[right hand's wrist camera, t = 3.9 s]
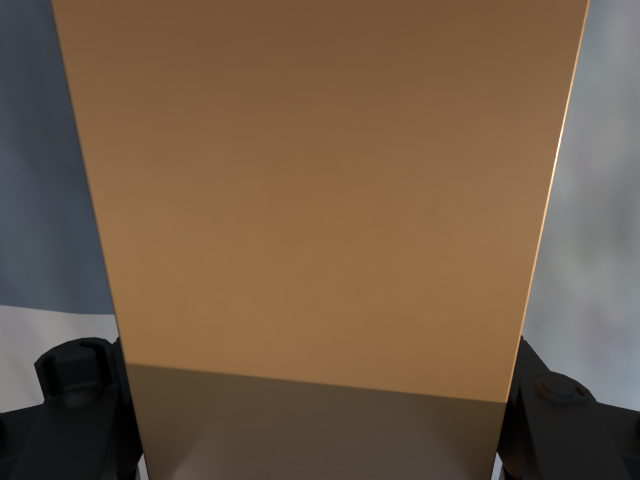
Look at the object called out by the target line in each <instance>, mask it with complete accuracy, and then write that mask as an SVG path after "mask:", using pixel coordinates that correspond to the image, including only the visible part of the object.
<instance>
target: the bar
mask: <svg viewBox="0 0 640 480" xmlns="http://www.w3.org/2000/svg"><path fill="white" fill-rule="evenodd" d="M589 4H590V0H50V5H51V10H52V15H53V20H54V25H55V29H56V34H57V39H58V44H59V49H60V54H61V58H62V63H63V68H64V73H65V78H66V83H67V87H68V92H69V97H70V102H71V107H72V111H73V116H74V121H75V126H76V131H77V136H78V140H79V145H80V150H81V155H82V160H83V165H84V169H85V174H86V179H87V184H88V189H89V193H90V198H91V203H92V208H93V213H94V218H95V222H96V227H97V232H98V237H99V242H100V247H101V251H102V256H103V261H104V266H105V271H106V275H107V280H108V285H109V290H110V295H111V300H112V304H113V309H114V314H115V319H116V324H117V329H118V333H119V338H120V343H121V348H122V353H123V357H124V362H125V367H126V372H127V377H128V382H129V386H130V391H131V396H132V401H133V406H134V411H135V415H136V420H137V425H138V430H139V435H140V440H141V444H142V449H143V454H144V459H145V464H146V468H147V473H148V478H149V480H491V477H492V472H493V467H494V462H495V458H496V453H497V448H498V443H499V438H500V433H501V429H502V424H503V419H504V414H505V409H506V404H507V400H508V395H509V390H510V385H511V380H512V376H513V371H514V366H515V361H516V356H517V351H518V347H519V342H520V337H521V332H522V327H523V322H524V318H525V313H526V308H527V303H528V298H529V294H530V289H531V284H532V279H533V274H534V269H535V265H536V260H537V255H538V250H539V245H540V240H541V236H542V231H543V226H544V221H545V216H546V212H547V207H548V202H549V197H550V192H551V187H552V183H553V178H554V173H555V168H556V163H557V158H558V154H559V149H560V144H561V139H562V134H563V130H564V125H565V120H566V115H567V110H568V105H569V101H570V96H571V91H572V86H573V81H574V76H575V72H576V67H577V62H578V57H579V52H580V48H581V43H582V38H583V33H584V28H585V23H586V19H587V14H588V9H589Z"/></svg>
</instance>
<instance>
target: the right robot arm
mask: <svg viewBox="0 0 640 480" xmlns="http://www.w3.org/2000/svg"><path fill="white" fill-rule="evenodd" d="M34 366H35V369H36V373H37V376H38V379H39V382H40V386H41V389H42V392H43V396H44V399H45V400H44V402H43V404H40V405H37V406H32V407H28V408H23V409H19V410H14V411H9V412H5V413H0V480H141V479H140V472H139V467H138V462H139V460H140V458H141V456H142V454H143V449H142V444H141V440H140V435H139V430H138V425H137V420H136V415H135V411H134V406H133V401H132V396H131V391H130V386H129V382H128V377H127V372H126V367H125V362H124V357H123V353H122V348H121V343H120V338H119V337H118V338H117V339H116V342H114V343H113V344H111V343H110V342H108V341H107V340H106V339H102V338H97V337H91V338H80V339H76V340H72V341H68V342H65V343H63V344H60V345H58V346H56V347H53V348H52V349H50V350H49V351H47V352H46V353H44V354H43V355H41V356H40V358H39V359H38V360H37V361H36V362H35V363H34ZM497 452H498V455H499V457H500V459H501V461H502V467H501V472H500V477H499V480H640V412H639V411H634V410H630V409H625V408H620V407H616V406H611V405H607V404H603V403H599V402H596V399H595V398H594V397H593V395H592V394H591V393H590V391H589V390H588V389H587V388H585V387H584V386H583V385H582V384H580V383H579V382H578V381H576V380H574V379H572V378H570V377H567V376H565V375H563V374H559V373H556V372H552V371H550V370H549V369H548V368H547V366H546V365H545V364H544V363H543V361H542V360H541V359H540V358H539V356H538V355H537V354H536V353H535V351H534V350H533V349H532V348H531V346H530V345H529V344H528V343H527V341H526V340H524V338H523V336H522V335H521V337H520V342H519V347H518V351H517V356H516V361H515V366H514V371H513V376H512V380H511V385H510V390H509V395H508V400H507V404H506V409H505V414H504V419H503V424H502V429H501V433H500V438H499V443H498V448H497Z"/></svg>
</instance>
